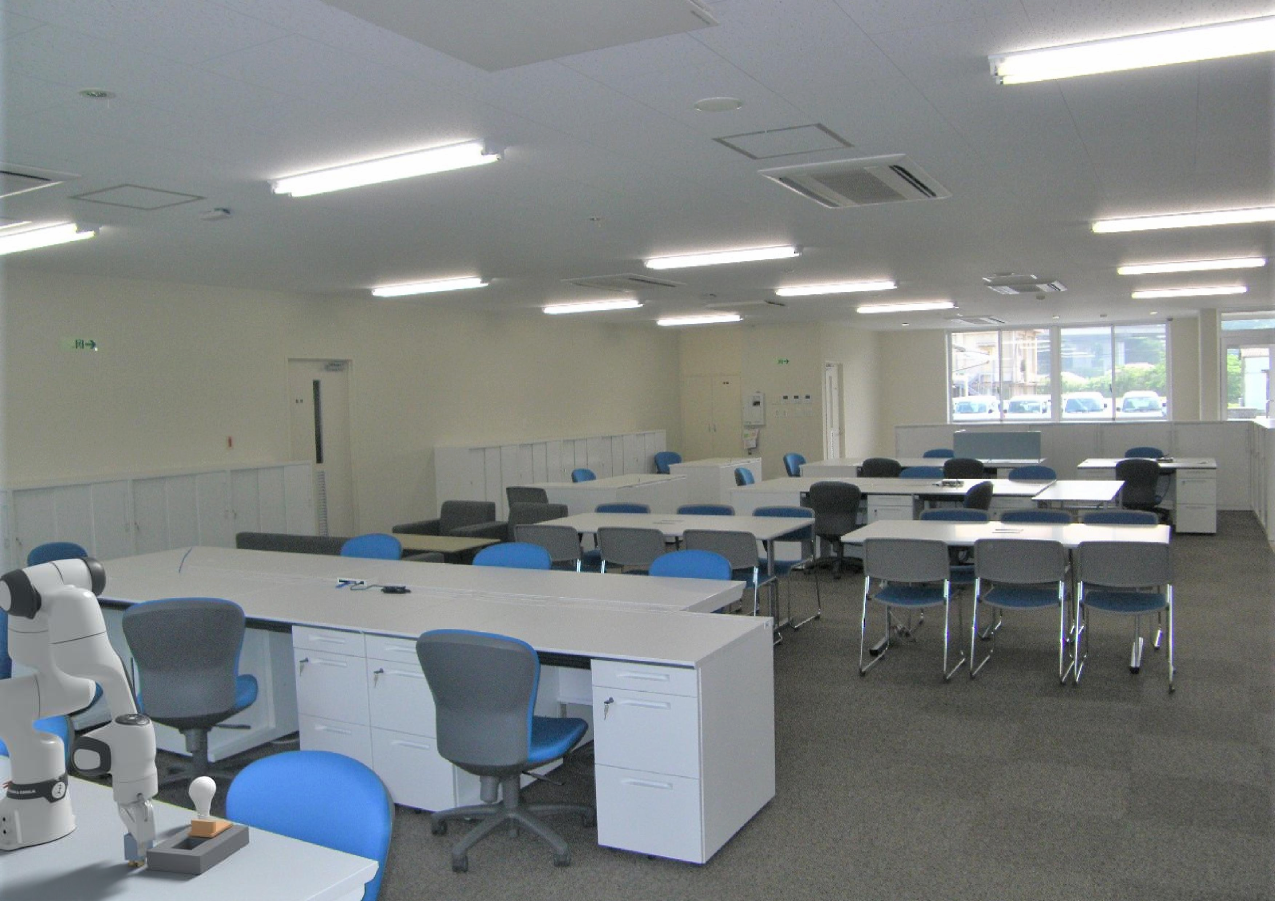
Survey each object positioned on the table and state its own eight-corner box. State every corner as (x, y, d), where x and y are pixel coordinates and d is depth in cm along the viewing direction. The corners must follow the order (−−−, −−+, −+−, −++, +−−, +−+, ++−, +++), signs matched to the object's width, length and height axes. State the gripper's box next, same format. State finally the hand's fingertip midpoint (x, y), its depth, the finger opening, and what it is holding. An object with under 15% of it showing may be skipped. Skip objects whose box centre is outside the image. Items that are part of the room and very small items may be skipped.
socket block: (147, 869, 209) (146, 851, 209) (198, 838, 225) (197, 821, 224) (200, 874, 205) (200, 856, 205) (249, 843, 221) (248, 825, 221)
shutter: (187, 835, 216) (186, 821, 216) (208, 822, 223) (208, 809, 223) (212, 837, 214) (211, 823, 214) (232, 824, 221) (232, 811, 221)
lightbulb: (206, 826, 231) (204, 782, 231) (184, 825, 232) (182, 781, 232) (222, 816, 237) (220, 773, 237) (200, 815, 238) (199, 772, 238)
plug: (124, 866, 211) (123, 828, 211) (138, 858, 215) (137, 821, 214) (139, 868, 210) (138, 830, 209) (153, 860, 213) (152, 822, 213)
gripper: (161, 797, 206) (164, 860, 206) (141, 773, 222) (143, 831, 222) (129, 805, 202) (132, 869, 202) (110, 780, 218) (113, 839, 218)
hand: (138, 849), depth 212 cm, fingers closed on plug, 6 cm apart
